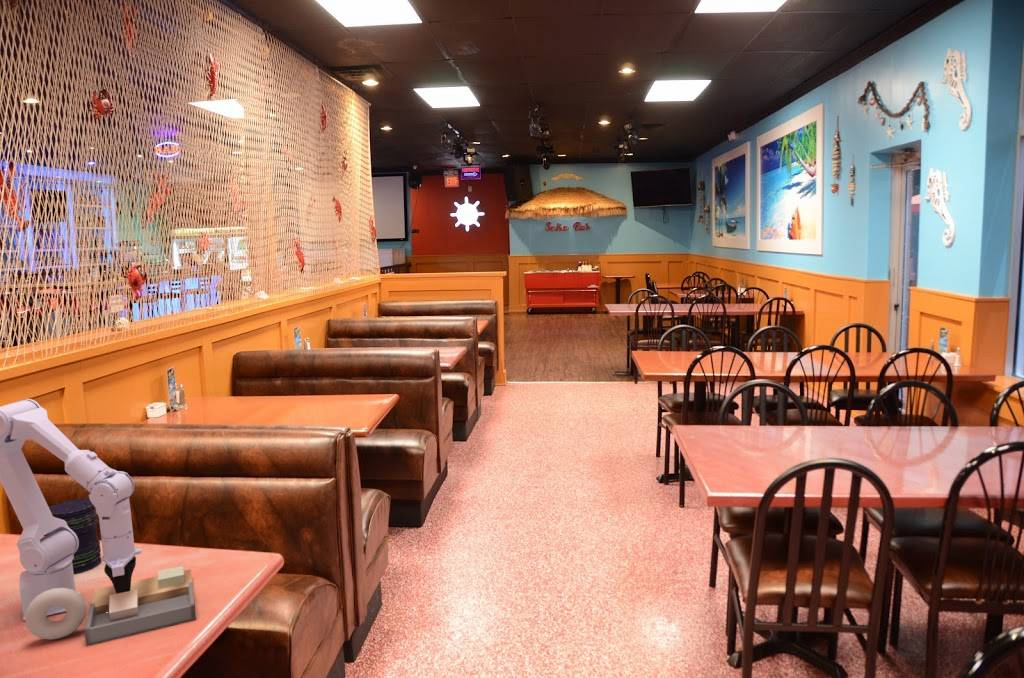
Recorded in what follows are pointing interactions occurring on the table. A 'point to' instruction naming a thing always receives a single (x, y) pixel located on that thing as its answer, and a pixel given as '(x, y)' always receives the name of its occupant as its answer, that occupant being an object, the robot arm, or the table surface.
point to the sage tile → (171, 577)
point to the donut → (60, 628)
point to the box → (140, 618)
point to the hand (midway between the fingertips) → (124, 595)
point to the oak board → (142, 592)
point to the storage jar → (81, 531)
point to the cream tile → (123, 604)
